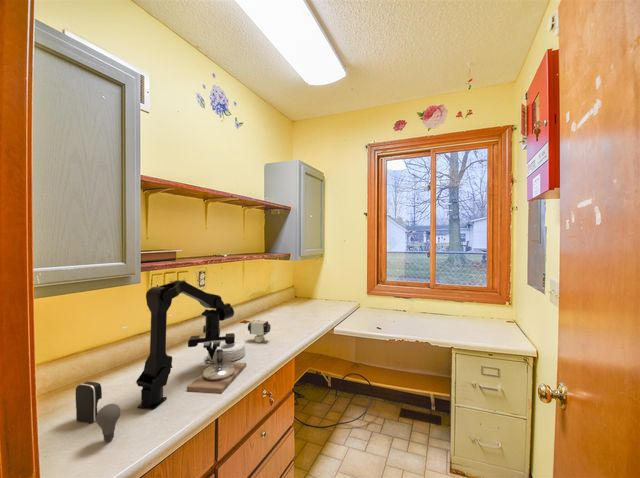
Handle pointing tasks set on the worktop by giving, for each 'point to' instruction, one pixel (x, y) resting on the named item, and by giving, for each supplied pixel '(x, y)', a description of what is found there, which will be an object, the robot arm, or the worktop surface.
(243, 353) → the cable
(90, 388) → the battery charger
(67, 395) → the worktop surface
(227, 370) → the metal disc with handle
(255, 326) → the pneumatic valve
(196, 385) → the board
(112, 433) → the light bulb
